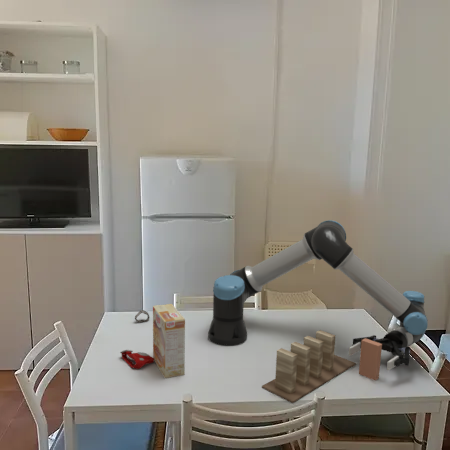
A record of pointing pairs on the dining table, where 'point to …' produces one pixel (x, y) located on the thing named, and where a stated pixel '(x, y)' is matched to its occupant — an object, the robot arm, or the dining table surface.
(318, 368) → the maple tile
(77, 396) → the dining table surface
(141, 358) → the tracker holder
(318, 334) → the maple tile
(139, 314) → the wristwatch
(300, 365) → the maple tile
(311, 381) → the board
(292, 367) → the maple tile
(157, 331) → the coffeecake box
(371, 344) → the terracotta tile
